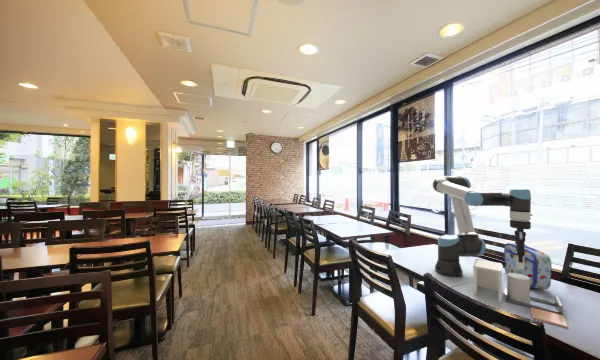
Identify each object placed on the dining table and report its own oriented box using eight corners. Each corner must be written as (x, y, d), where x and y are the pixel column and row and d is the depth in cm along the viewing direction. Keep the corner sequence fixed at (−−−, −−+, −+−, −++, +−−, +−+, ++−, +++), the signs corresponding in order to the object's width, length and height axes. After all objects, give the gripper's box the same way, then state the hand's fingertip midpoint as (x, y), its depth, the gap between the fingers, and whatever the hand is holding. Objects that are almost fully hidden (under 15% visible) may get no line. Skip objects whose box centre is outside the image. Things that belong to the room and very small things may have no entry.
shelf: (473, 294, 122) (473, 265, 122) (475, 284, 133) (475, 258, 133) (501, 301, 114) (501, 271, 114) (501, 291, 125) (501, 263, 125)
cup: (531, 306, 110) (531, 281, 110) (509, 301, 114) (509, 277, 114) (527, 299, 117) (527, 275, 117) (505, 294, 121) (505, 271, 121)
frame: (504, 300, 115) (504, 292, 115) (504, 292, 123) (504, 284, 123) (562, 315, 102) (562, 306, 102) (558, 305, 111) (558, 296, 111)
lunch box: (499, 272, 151) (499, 238, 151) (517, 273, 149) (517, 238, 149) (532, 292, 124) (531, 250, 124) (555, 293, 122) (555, 251, 122)
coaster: (532, 318, 100) (532, 316, 100) (530, 308, 108) (530, 307, 108) (567, 328, 94) (567, 326, 94) (562, 317, 101) (562, 315, 101)
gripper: (532, 223, 106) (532, 274, 106) (529, 218, 120) (528, 263, 120) (510, 221, 111) (510, 270, 111) (509, 217, 125) (509, 260, 125)
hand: (520, 266), depth 115 cm, fingers open, 5 cm apart
